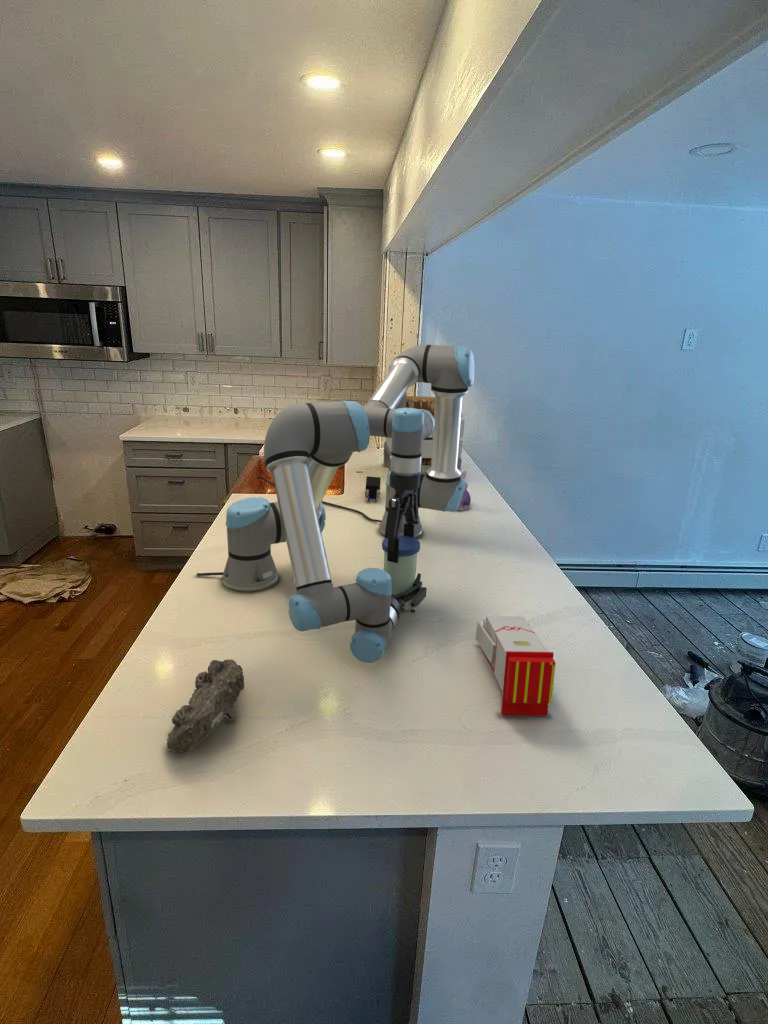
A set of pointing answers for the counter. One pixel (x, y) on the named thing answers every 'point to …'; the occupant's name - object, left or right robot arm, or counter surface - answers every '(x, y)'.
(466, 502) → the figurine
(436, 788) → the counter surface
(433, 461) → the right robot arm
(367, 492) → the figurine character
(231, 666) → the fossil
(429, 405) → the grey boxy piece
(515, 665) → the toy
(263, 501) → the left robot arm
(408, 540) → the lid
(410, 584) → the jar
